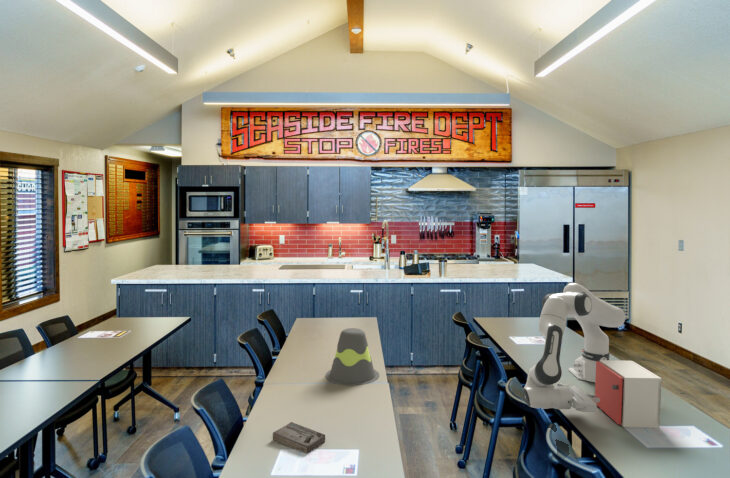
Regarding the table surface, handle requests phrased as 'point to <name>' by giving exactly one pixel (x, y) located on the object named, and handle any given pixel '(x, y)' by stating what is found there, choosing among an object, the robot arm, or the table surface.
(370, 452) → the table surface
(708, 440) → the table surface
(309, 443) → the box
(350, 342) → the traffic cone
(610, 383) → the door
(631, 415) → the cabinet
